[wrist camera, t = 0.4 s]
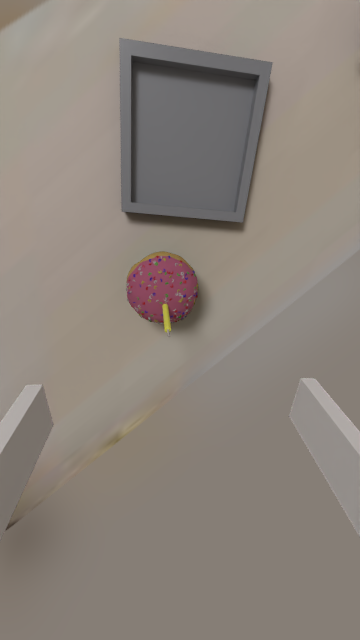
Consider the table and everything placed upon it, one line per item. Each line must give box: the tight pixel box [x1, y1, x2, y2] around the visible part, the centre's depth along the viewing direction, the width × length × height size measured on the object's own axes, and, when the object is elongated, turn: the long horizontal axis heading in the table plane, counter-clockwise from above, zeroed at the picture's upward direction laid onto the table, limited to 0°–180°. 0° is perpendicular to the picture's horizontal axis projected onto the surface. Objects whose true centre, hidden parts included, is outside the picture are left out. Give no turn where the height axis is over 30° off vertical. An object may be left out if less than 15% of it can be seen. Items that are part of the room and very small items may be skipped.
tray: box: [120, 38, 273, 222], centre depth 27 cm, size 14×14×2 cm
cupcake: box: [126, 252, 198, 337], centre depth 28 cm, size 9×8×12 cm
